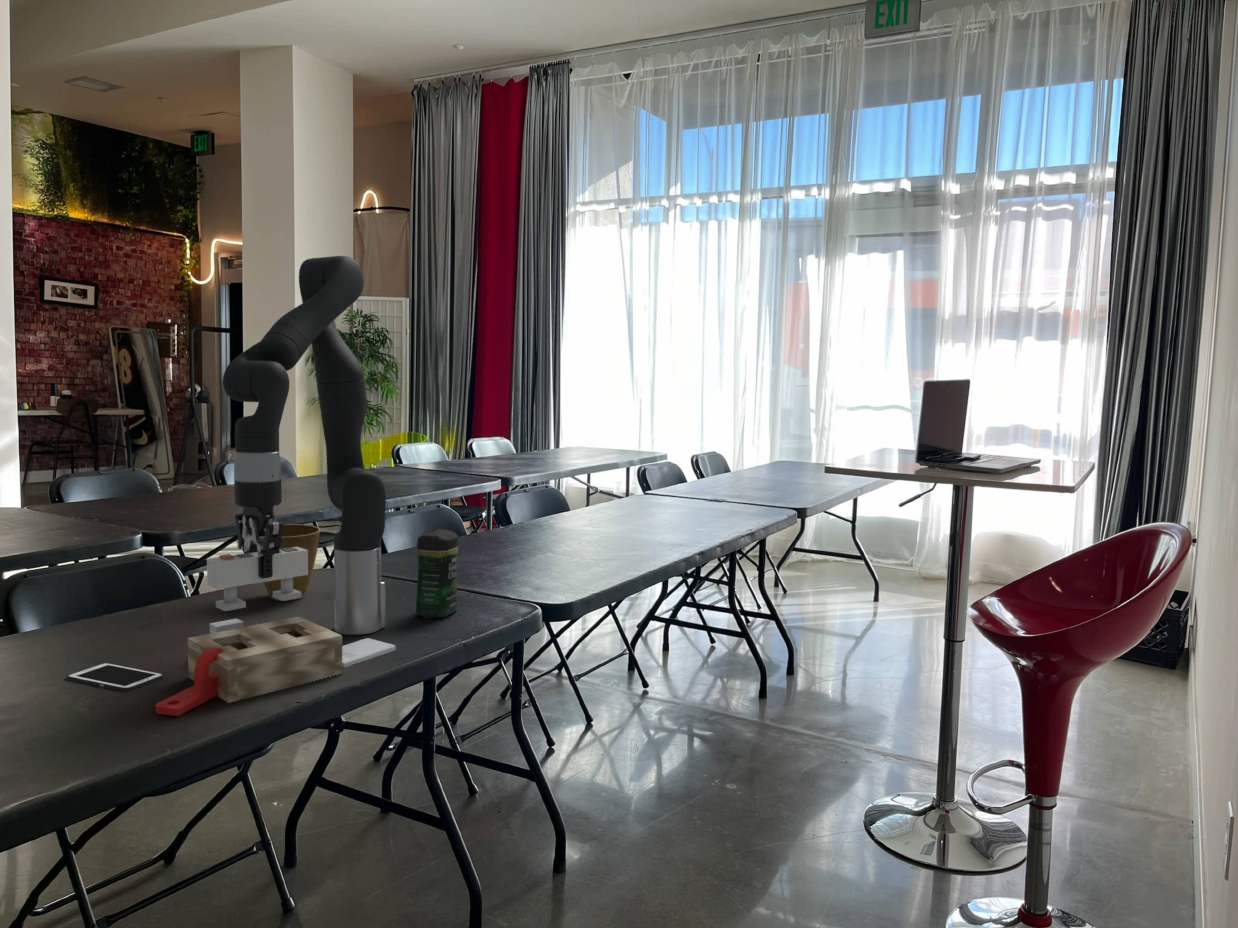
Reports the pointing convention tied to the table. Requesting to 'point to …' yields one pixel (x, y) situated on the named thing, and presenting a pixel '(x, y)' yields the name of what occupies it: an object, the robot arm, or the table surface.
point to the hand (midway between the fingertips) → (259, 574)
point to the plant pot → (304, 539)
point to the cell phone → (115, 677)
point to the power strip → (255, 574)
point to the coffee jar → (437, 574)
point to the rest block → (226, 625)
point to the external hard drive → (364, 651)
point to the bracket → (194, 687)
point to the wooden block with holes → (269, 657)
